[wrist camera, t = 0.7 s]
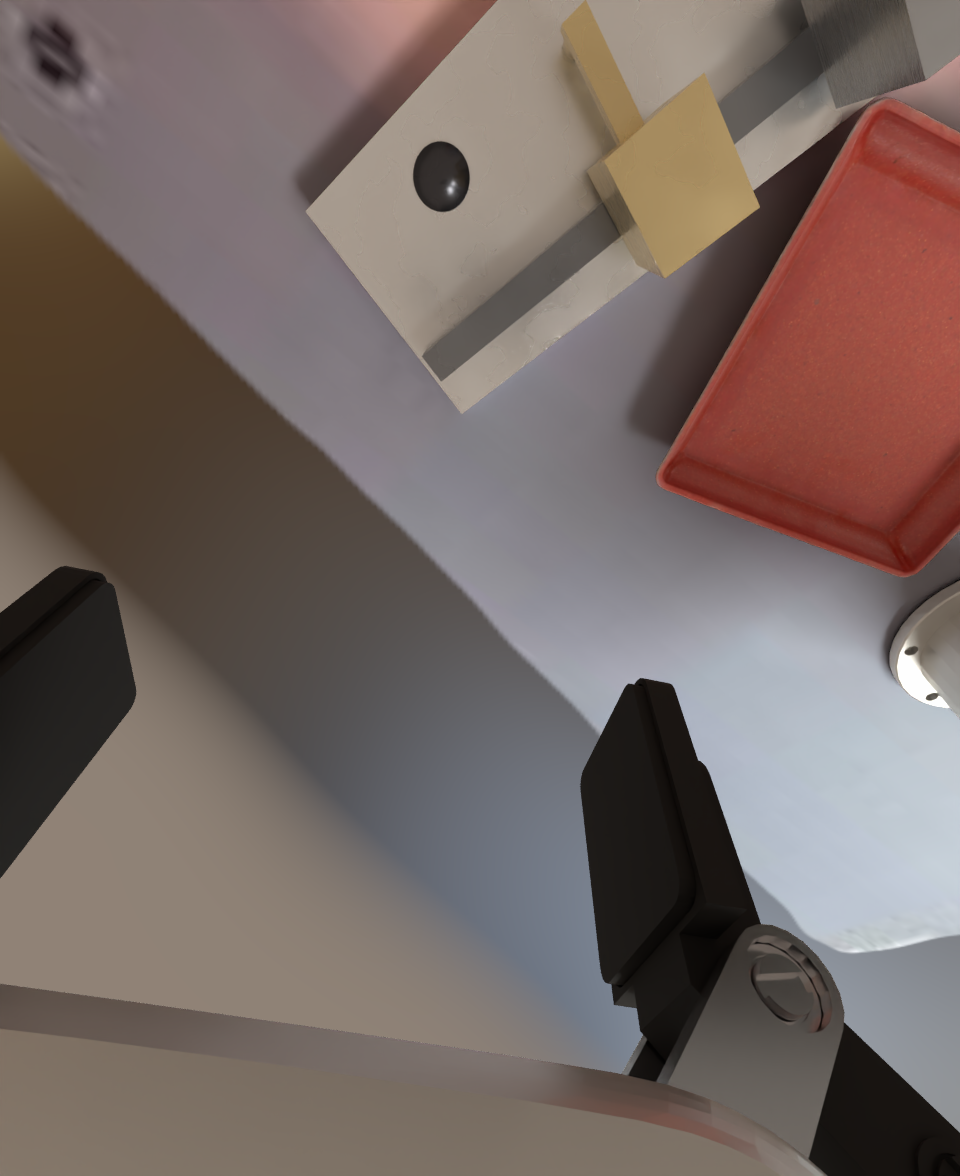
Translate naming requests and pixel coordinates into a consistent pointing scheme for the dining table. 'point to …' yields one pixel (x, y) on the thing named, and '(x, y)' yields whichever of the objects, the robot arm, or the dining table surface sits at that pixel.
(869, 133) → the plant saucer
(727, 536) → the dining table surface
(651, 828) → the robot arm
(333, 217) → the hole plate
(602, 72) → the tan stemmed block
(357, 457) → the dining table surface
